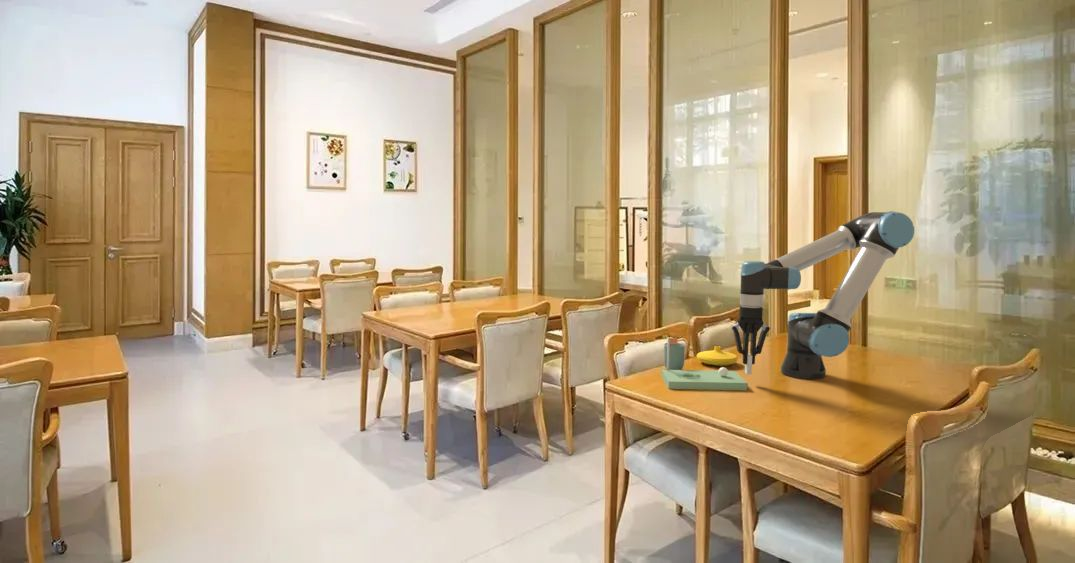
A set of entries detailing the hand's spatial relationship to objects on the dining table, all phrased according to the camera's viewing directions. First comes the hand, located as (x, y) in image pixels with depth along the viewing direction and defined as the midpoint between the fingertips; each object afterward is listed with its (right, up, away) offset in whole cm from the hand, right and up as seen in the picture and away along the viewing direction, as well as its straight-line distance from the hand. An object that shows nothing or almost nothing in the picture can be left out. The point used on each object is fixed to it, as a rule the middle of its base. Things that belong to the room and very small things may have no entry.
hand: (748, 373), depth 209 cm
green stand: (-16, -4, +1) cm, 16 cm away
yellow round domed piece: (-2, -1, +30) cm, 30 cm away
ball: (-9, 0, 0) cm, 9 cm away
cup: (-22, -2, +19) cm, 28 cm away
